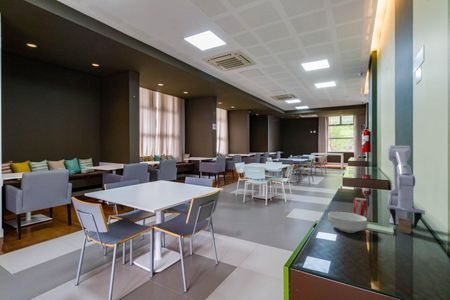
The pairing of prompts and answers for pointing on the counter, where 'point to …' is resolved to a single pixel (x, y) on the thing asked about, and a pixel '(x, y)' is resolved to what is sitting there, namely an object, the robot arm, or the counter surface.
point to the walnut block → (404, 225)
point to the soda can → (360, 207)
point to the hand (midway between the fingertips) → (404, 226)
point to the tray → (379, 228)
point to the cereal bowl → (347, 221)
